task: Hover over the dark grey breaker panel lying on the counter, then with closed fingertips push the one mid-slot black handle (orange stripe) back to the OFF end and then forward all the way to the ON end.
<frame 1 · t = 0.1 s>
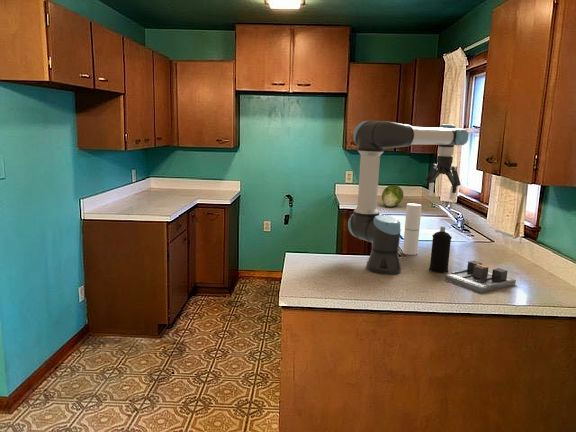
hand: (441, 197, 240), 28 cm above the worktop, fingers open, 13 cm apart
aerosol can: (438, 270, 210), on the worktop
breaker handle: (480, 271, 195), point 5 cm above the worktop, slide at 0.0 cm
panel: (479, 282, 196), on the worktop
cylindrical container: (409, 253, 238), on the worktop
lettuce: (390, 206, 376), on the worktop
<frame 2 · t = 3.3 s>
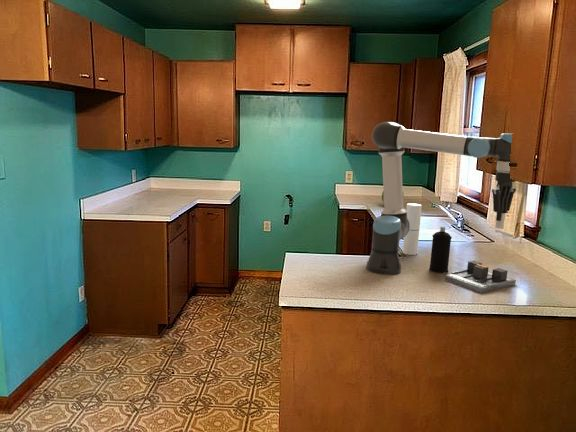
hand: (499, 228, 196), 22 cm above the worktop, fingers closed
nothing on the worktop moved.
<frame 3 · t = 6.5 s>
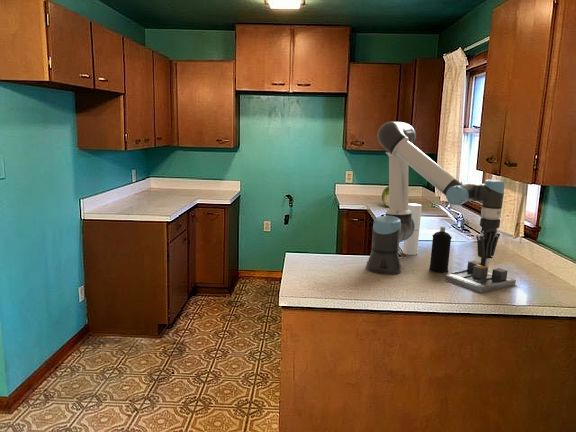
hand: (483, 272, 197), 4 cm above the worktop, fingers closed
breaker handle: (480, 271, 195), point 5 cm above the worktop, slide at -0.4 cm, touching gripper
everything else where it was.
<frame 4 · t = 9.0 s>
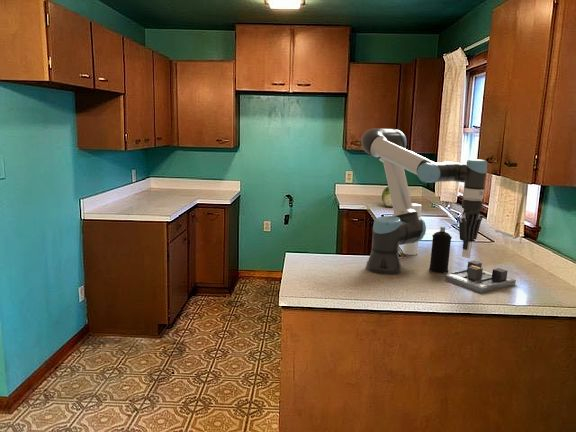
hand: (465, 256, 189), 12 cm above the worktop, fingers closed
breaker handle: (474, 272, 193), point 5 cm above the worktop, slide at -3.7 cm
everything else where it was.
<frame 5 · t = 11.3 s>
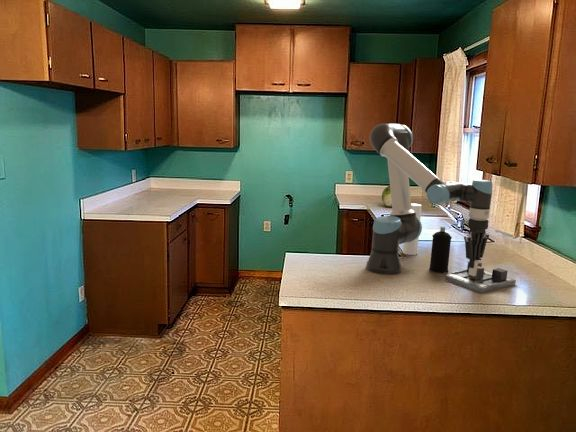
hand: (472, 274, 192), 4 cm above the worktop, fingers closed
breaker handle: (476, 272, 194), point 5 cm above the worktop, slide at -2.8 cm, touching gripper
everything else where it was.
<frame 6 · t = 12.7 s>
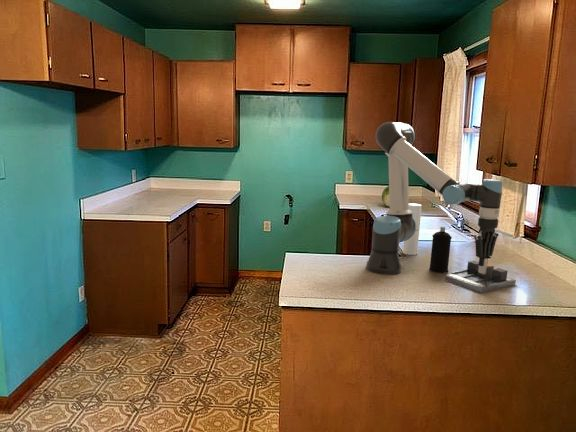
hand: (482, 272, 196), 4 cm above the worktop, fingers closed
breaker handle: (486, 270, 197), point 5 cm above the worktop, slide at 3.6 cm, touching gripper
everything else where it was.
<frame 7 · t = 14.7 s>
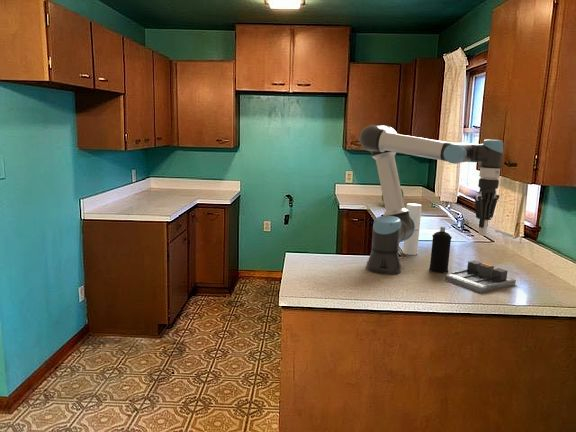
hand: (482, 234, 194), 20 cm above the worktop, fingers closed
breaker handle: (486, 270, 197), point 5 cm above the worktop, slide at 3.7 cm
everything else where it was.
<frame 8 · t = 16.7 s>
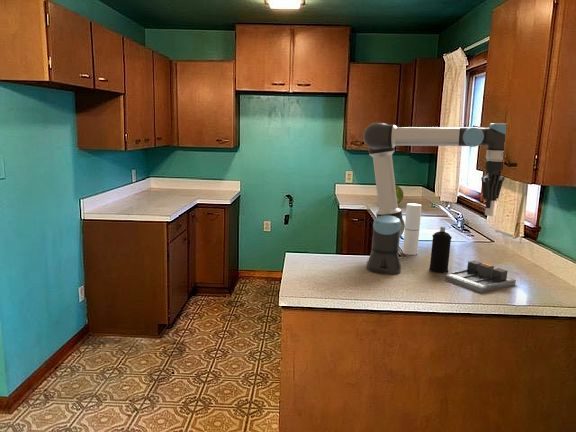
hand: (488, 215, 202), 26 cm above the worktop, fingers closed
nothing on the worktop moved.
at the end: breaker handle slide at 3.7 cm; breaker handle touching nothing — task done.
